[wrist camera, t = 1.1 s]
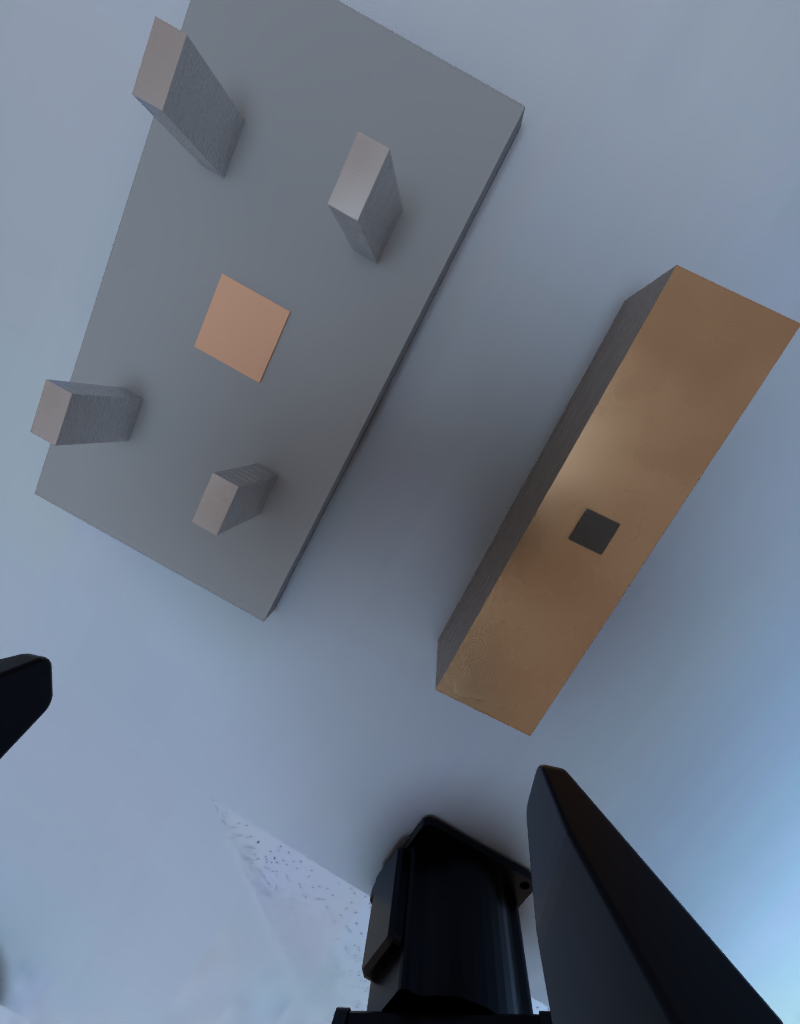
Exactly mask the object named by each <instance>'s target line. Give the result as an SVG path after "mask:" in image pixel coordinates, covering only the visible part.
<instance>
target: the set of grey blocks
mask: <svg viewBox="0 0 800 1024" xmlns="http://www.w3.org/2000/svg"><path fill="white" fill-rule="evenodd" d="M132 94H133V95H134V96H135V97H136V98H137V100H138V101H139V102H140V103H141V104H142V105H143V106H144V107H145V108H146V109H147V110H148V111H149V112H150V113H151V114H152V115H153V116H154V117H155V118H156V119H157V120H158V121H159V122H160V123H161V124H162V125H163V126H164V127H165V129H166V130H167V131H168V132H169V133H170V134H171V135H172V136H173V137H174V138H175V139H176V140H177V141H178V142H179V143H180V144H181V145H182V146H183V147H184V148H185V149H186V150H187V151H188V152H189V153H190V154H191V155H192V157H193V158H194V159H195V160H196V161H197V162H198V163H199V164H200V165H201V166H203V167H205V168H207V169H208V170H210V171H212V172H214V173H216V174H217V175H219V176H221V177H223V178H225V176H226V173H227V170H228V167H229V165H230V162H231V159H232V157H233V154H234V151H235V148H236V146H237V143H238V140H239V137H240V135H241V132H242V129H243V126H244V124H245V120H244V118H243V117H242V115H241V114H240V112H239V111H238V109H237V108H236V106H235V105H234V103H233V102H232V100H231V99H230V97H229V96H228V95H227V93H226V92H225V90H224V89H223V87H222V86H221V84H220V83H219V81H218V80H217V78H216V77H215V75H214V74H213V72H212V71H211V69H210V68H209V66H208V65H207V63H206V62H205V60H204V59H203V58H202V56H201V55H200V53H199V52H198V50H197V49H196V47H195V46H194V44H193V43H192V41H191V40H190V38H189V37H188V35H187V34H186V33H184V32H182V31H180V30H178V29H177V28H175V27H173V26H171V25H170V24H168V23H166V22H164V21H162V20H161V19H159V18H157V17H155V20H154V23H153V26H152V30H151V33H150V36H149V40H148V43H147V46H146V50H145V53H144V56H143V60H142V63H141V66H140V70H139V73H138V76H137V79H136V83H135V86H134V89H133V93H132ZM328 206H329V208H330V209H331V211H332V213H333V215H334V217H335V218H336V220H337V222H338V224H339V226H340V227H341V229H342V231H343V233H344V235H345V236H346V238H347V240H348V242H349V244H350V245H351V247H352V249H353V251H354V252H356V253H358V254H360V255H361V256H363V257H365V258H367V259H368V260H370V261H372V262H374V263H376V264H378V262H379V260H380V257H381V255H382V253H383V251H384V249H385V247H386V245H387V243H388V240H389V238H390V236H391V234H392V232H393V230H394V228H395V225H396V223H397V221H398V219H399V217H400V215H401V213H402V211H403V208H402V203H401V199H400V194H399V189H398V185H397V180H396V176H395V171H394V166H393V162H392V157H391V152H390V149H389V148H388V147H386V146H384V145H382V144H381V143H379V142H377V141H375V140H374V139H372V138H370V137H368V136H366V135H365V134H363V133H361V132H359V131H358V133H357V136H356V138H355V140H354V143H353V145H352V148H351V150H350V152H349V155H348V157H347V159H346V162H345V164H344V166H343V169H342V171H341V173H340V176H339V178H338V180H337V183H336V185H335V187H334V190H333V192H332V194H331V197H330V199H329V201H328ZM143 400H144V399H143V398H141V397H139V396H137V395H136V394H134V393H132V392H130V391H128V390H127V389H125V388H123V387H113V386H104V385H94V384H85V383H75V382H66V381H57V380H47V379H46V382H45V385H44V388H43V392H42V395H41V398H40V402H39V405H38V408H37V412H36V415H35V418H34V422H33V425H32V428H31V431H30V432H32V433H34V434H35V435H37V436H39V437H41V438H42V439H44V440H46V441H48V442H50V443H51V444H53V445H55V446H58V445H74V444H91V443H107V442H124V441H129V439H130V436H131V433H132V431H133V428H134V425H135V422H136V420H137V417H138V414H139V411H140V409H141V406H142V403H143ZM278 475H279V474H277V473H275V472H273V471H271V470H270V469H268V468H266V467H264V466H262V465H261V464H259V463H255V464H251V465H246V466H241V467H237V468H232V469H227V470H223V471H218V472H213V473H212V476H211V478H210V480H209V483H208V485H207V487H206V490H205V492H204V494H203V497H202V499H201V502H200V504H199V506H198V509H197V511H196V513H195V516H194V518H193V520H192V522H193V523H195V524H196V525H198V526H200V527H202V528H204V529H205V530H207V531H209V532H211V533H212V534H214V535H216V536H217V535H219V534H221V533H223V532H225V531H227V530H229V529H231V528H233V527H235V526H238V525H240V524H242V523H244V522H246V521H248V520H250V519H252V518H254V517H256V516H258V515H260V513H261V511H262V509H263V507H264V504H265V502H266V500H267V498H268V496H269V494H270V492H271V490H272V487H273V485H274V483H275V481H276V479H277V477H278Z"/></svg>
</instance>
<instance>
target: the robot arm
mask: <svg viewBox="0 0 800 1024" xmlns="http://www.w3.org/2000/svg"><path fill="white" fill-rule="evenodd" d="M52 696H53V691H52V665H51V662H50V660H49V659H47V658H46V657H42V656H37V655H33V654H20V655H16V656H12V657H8V658H4V659H0V759H1V758H2V757H3V756H4V754H5V753H6V752H7V751H8V750H9V749H10V748H11V747H12V746H13V745H14V744H15V743H16V742H17V741H18V740H19V739H20V737H21V736H22V735H23V734H24V733H25V732H26V731H27V730H28V729H29V728H30V727H31V726H32V725H33V724H34V723H35V722H36V720H37V719H38V718H39V717H40V716H41V715H42V714H43V713H44V712H45V711H46V710H47V708H48V707H49V705H50V703H51V700H52ZM527 827H528V839H529V851H530V862H531V873H530V872H529V871H528V870H526V869H524V868H522V867H520V866H519V865H517V864H515V863H513V862H511V861H510V860H508V859H506V858H504V857H502V856H501V855H499V854H497V853H495V852H493V851H492V850H490V849H488V848H486V847H485V846H483V845H481V844H479V843H477V842H476V841H474V840H472V839H470V838H468V837H467V836H465V835H463V834H461V833H459V832H458V831H456V830H454V829H452V828H450V827H449V826H447V825H445V824H443V823H441V822H440V821H438V820H436V819H434V818H429V817H427V818H424V819H423V820H422V821H421V822H420V824H419V825H418V827H417V828H416V829H415V831H414V832H413V833H412V835H411V836H410V838H409V839H408V840H407V842H406V843H405V844H404V846H401V847H399V848H398V849H397V850H396V851H395V852H394V854H393V855H392V857H391V858H390V859H389V861H388V862H387V864H386V865H385V866H384V868H383V869H382V871H381V872H380V873H379V875H378V876H377V878H376V883H375V886H374V887H373V889H372V891H371V897H370V902H371V904H372V908H371V914H370V920H369V927H368V933H367V939H366V946H365V952H364V958H363V964H362V971H363V975H364V978H366V979H368V980H370V981H371V984H370V991H369V998H368V1005H367V1011H351V1009H350V1008H345V1007H337V1008H336V1011H335V1014H334V1017H333V1020H332V1024H783V1022H782V1021H781V1019H780V1018H779V1017H778V1016H777V1015H776V1014H775V1012H774V1011H773V1010H772V1009H771V1008H770V1007H769V1005H768V1004H767V1003H766V1002H765V1001H764V1000H763V999H762V997H761V996H760V995H759V994H758V993H757V992H756V990H755V989H754V988H753V987H752V986H751V985H750V983H749V982H748V981H747V980H746V979H745V978H744V976H743V975H742V974H741V973H740V972H739V971H738V970H737V968H736V967H735V966H734V965H733V964H732V963H731V961H730V960H729V959H728V958H727V957H726V956H725V954H724V953H723V952H722V951H721V950H720V949H719V948H718V946H717V945H716V944H715V943H714V942H713V941H712V939H711V938H710V937H709V936H708V935H707V934H706V932H705V931H704V930H703V929H702V928H701V927H700V925H699V924H698V923H697V922H696V921H695V920H694V919H693V917H692V916H691V915H690V914H689V913H688V912H687V910H686V909H685V908H684V907H683V906H682V905H681V903H680V902H679V901H678V900H677V899H676V898H675V897H674V895H673V894H672V893H671V892H670V891H669V890H668V888H667V887H666V886H665V885H664V884H663V883H662V881H661V880H660V879H659V878H658V877H657V876H656V874H655V873H654V872H653V871H652V870H651V869H650V868H649V866H648V865H647V864H646V863H645V862H644V861H643V859H642V858H641V857H640V856H639V855H638V854H637V852H636V851H635V850H634V849H633V848H632V847H631V846H630V844H629V843H628V842H627V841H626V840H625V839H624V837H623V836H622V835H621V834H620V833H619V832H618V830H617V829H616V828H615V827H614V826H613V825H612V823H611V822H610V821H609V820H608V819H607V818H606V817H605V815H604V814H603V813H602V812H601V811H600V810H599V808H598V807H597V806H596V805H595V804H594V803H593V801H592V800H591V799H590V798H589V797H588V796H587V795H586V793H585V792H584V791H583V790H582V789H581V788H580V786H579V785H578V784H577V783H576V782H575V781H574V779H573V778H572V777H571V776H570V775H569V774H568V773H567V772H566V771H565V770H564V769H562V768H558V767H553V766H548V765H540V766H539V767H538V769H537V771H536V774H535V778H534V781H533V785H532V789H531V793H530V796H529V800H528V805H527ZM430 829H431V830H430ZM532 891H533V897H534V909H535V919H536V929H537V936H538V943H539V949H540V955H541V961H542V967H543V972H544V978H545V984H546V989H547V995H548V1001H549V1006H550V1011H539V1014H533V1009H532V1002H531V995H530V988H529V981H528V974H527V967H526V960H525V953H524V946H523V939H522V932H521V925H520V918H519V911H518V907H519V906H520V905H521V904H522V903H523V902H524V901H525V899H526V898H527V897H528V896H529V895H530V894H531V892H532Z"/></svg>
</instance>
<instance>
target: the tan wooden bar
mask: <svg viewBox="0 0 800 1024" xmlns="http://www.w3.org/2000/svg"><path fill="white" fill-rule="evenodd" d="M799 327H800V323H798V322H796V321H794V320H792V319H790V318H788V317H785V316H783V315H781V314H779V313H777V312H775V311H773V310H771V309H769V308H766V307H764V306H762V305H760V304H758V303H756V302H754V301H752V300H749V299H747V298H745V297H743V296H741V295H739V294H737V293H735V292H733V291H730V290H728V289H726V288H724V287H722V286H720V285H718V284H716V283H714V282H711V281H709V280H707V279H705V278H703V277H701V276H699V275H697V274H695V273H692V272H690V271H688V270H686V269H684V268H682V267H680V266H678V265H676V266H675V267H673V268H672V269H670V270H669V271H667V272H666V273H665V274H663V275H662V276H660V277H659V278H657V279H656V280H654V281H653V282H652V283H650V284H649V285H647V286H646V287H644V288H643V289H641V290H640V291H638V292H637V293H636V294H634V295H633V296H631V297H630V298H628V299H627V300H625V302H624V304H623V306H622V307H621V309H620V311H619V313H618V315H617V316H616V318H615V320H614V322H613V324H612V326H611V327H610V329H609V331H608V333H607V335H606V336H605V338H604V340H603V342H602V344H601V346H600V347H599V349H598V351H597V353H596V355H595V356H594V358H593V360H592V362H591V364H590V366H589V367H588V369H587V371H586V373H585V375H584V376H583V378H582V380H581V382H580V384H579V385H578V387H577V389H576V391H575V393H574V395H573V396H572V398H571V400H570V402H569V404H568V405H567V407H566V409H565V411H564V413H563V415H562V416H561V418H560V420H559V422H558V424H557V425H556V427H555V429H554V431H553V433H552V435H551V436H550V438H549V440H548V442H547V444H546V445H545V447H544V449H543V451H542V453H541V454H540V456H539V458H538V460H537V462H536V464H535V465H534V467H533V469H532V471H531V473H530V474H529V476H528V478H527V480H526V482H525V484H524V485H523V487H522V489H521V491H520V493H519V494H518V496H517V498H516V500H515V502H514V504H513V505H512V507H511V509H510V511H509V513H508V514H507V516H506V518H505V520H504V522H503V523H502V525H501V527H500V529H499V531H498V533H497V534H496V536H495V538H494V540H493V542H492V543H491V545H490V547H489V549H488V551H487V553H486V554H485V556H484V558H483V560H482V562H481V563H480V565H479V567H478V569H477V571H476V573H475V574H474V576H473V578H472V580H471V582H470V583H469V585H468V587H467V589H466V591H465V592H464V594H463V596H462V598H461V600H460V602H459V603H458V605H457V607H456V609H455V611H454V612H453V614H452V616H451V618H450V620H449V622H448V623H447V625H446V627H445V629H444V631H443V632H442V634H441V636H440V638H439V640H438V650H437V670H436V690H437V691H439V692H441V693H443V694H445V695H447V696H449V697H451V698H453V699H455V700H458V701H460V702H462V703H464V704H466V705H468V706H470V707H472V708H474V709H476V710H478V711H480V712H482V713H484V714H486V715H488V716H490V717H492V718H494V719H496V720H498V721H500V722H502V723H505V724H507V725H509V726H511V727H513V728H515V729H517V730H519V731H521V732H523V733H525V734H527V735H529V736H530V735H531V734H532V732H533V731H534V729H535V728H536V726H537V725H538V723H539V722H540V720H541V719H542V717H543V716H544V714H545V713H546V711H547V710H548V708H549V707H550V705H551V704H552V702H553V700H554V699H555V697H556V696H557V694H558V693H559V691H560V690H561V688H562V687H563V685H564V684H565V682H566V681H567V679H568V678H569V676H570V675H571V673H572V672H573V670H574V669H575V667H576V666H577V664H578V663H579V661H580V659H581V658H582V656H583V655H584V653H585V652H586V650H587V649H588V647H589V646H590V644H591V643H592V641H593V640H594V638H595V637H596V635H597V634H598V632H599V631H600V629H601V628H602V626H603V625H604V623H605V621H606V620H607V618H608V617H609V615H610V614H611V612H612V611H613V609H614V608H615V606H616V605H617V603H618V602H619V600H620V599H621V597H622V596H623V594H624V593H625V591H626V590H627V588H628V587H629V585H630V583H631V582H632V580H633V579H634V577H635V576H636V574H637V573H638V571H639V570H640V568H641V567H642V565H643V564H644V562H645V561H646V559H647V558H648V556H649V555H650V553H651V552H652V550H653V549H654V547H655V546H656V544H657V542H658V541H659V539H660V538H661V536H662V535H663V533H664V532H665V530H666V529H667V527H668V526H669V524H670V523H671V521H672V520H673V518H674V517H675V515H676V514H677V512H678V511H679V509H680V508H681V506H682V504H683V503H684V501H685V500H686V498H687V497H688V495H689V494H690V492H691V491H692V489H693V488H694V486H695V485H696V483H697V482H698V480H699V479H700V477H701V476H702V474H703V473H704V471H705V470H706V468H707V466H708V465H709V463H710V462H711V460H712V459H713V457H714V456H715V454H716V453H717V451H718V450H719V448H720V447H721V445H722V444H723V442H724V441H725V439H726V438H727V436H728V435H729V433H730V432H731V430H732V429H733V427H734V425H735V424H736V422H737V421H738V419H739V418H740V416H741V415H742V413H743V412H744V410H745V409H746V407H747V406H748V404H749V403H750V401H751V400H752V398H753V397H754V395H755V394H756V392H757V391H758V389H759V387H760V386H761V384H762V383H763V381H764V380H765V378H766V377H767V375H768V374H769V372H770V371H771V369H772V368H773V366H774V365H775V363H776V362H777V360H778V359H779V357H780V356H781V354H782V353H783V351H784V349H785V348H786V346H787V345H788V343H789V342H790V340H791V339H792V337H793V336H794V334H795V333H796V331H797V330H798V328H799Z"/></svg>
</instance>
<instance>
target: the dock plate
mask: <svg viewBox="0 0 800 1024" xmlns="http://www.w3.org/2000/svg"><path fill="white" fill-rule="evenodd" d="M181 31H182V32H184V33H186V34H187V35H188V37H189V38H190V40H191V41H192V43H193V44H194V46H195V47H196V49H197V50H198V52H199V53H200V55H201V56H202V58H203V59H204V60H205V62H206V63H207V65H208V66H209V68H210V69H211V71H212V72H213V74H214V75H215V77H216V78H217V80H218V81H219V83H220V84H221V86H222V87H223V89H224V90H225V92H226V93H227V95H228V96H229V97H230V99H231V100H232V102H233V103H234V105H235V106H236V108H237V109H238V111H239V112H240V114H241V115H242V117H243V118H244V120H245V124H244V126H243V129H242V132H241V135H240V137H239V140H238V143H237V146H236V148H235V151H234V154H233V157H232V159H231V162H230V165H229V167H228V170H227V173H226V176H225V178H223V177H221V176H219V175H217V174H216V173H214V172H212V171H210V170H208V169H207V168H205V167H203V166H201V165H200V164H199V163H198V162H197V161H196V160H195V159H194V158H193V157H192V155H191V154H190V153H189V152H188V151H187V150H186V149H185V148H184V147H183V146H182V145H181V144H180V143H179V142H178V141H177V140H176V139H175V138H174V137H173V136H172V135H171V134H170V133H169V132H168V131H167V130H166V129H165V127H164V126H163V125H162V124H161V123H160V122H159V121H158V120H157V119H156V118H155V117H154V118H153V121H152V124H151V127H150V130H149V134H148V137H147V140H146V143H145V146H144V149H143V153H142V156H141V159H140V162H139V165H138V168H137V172H136V175H135V178H134V181H133V184H132V187H131V191H130V194H129V197H128V200H127V203H126V206H125V210H124V213H123V216H122V219H121V222H120V225H119V229H118V232H117V235H116V238H115V241H114V244H113V248H112V251H111V254H110V257H109V260H108V263H107V267H106V270H105V273H104V276H103V279H102V282H101V285H100V289H99V292H98V295H97V298H96V301H95V304H94V308H93V311H92V314H91V317H90V320H89V323H88V327H87V330H86V333H85V336H84V339H83V342H82V346H81V349H80V352H79V355H78V358H77V361H76V365H75V368H74V371H73V374H72V377H71V380H70V382H75V383H85V384H94V385H104V386H113V387H123V388H125V389H127V390H128V391H130V392H132V393H134V394H136V395H137V396H139V397H141V398H143V399H144V400H143V403H142V406H141V409H140V411H139V414H138V417H137V420H136V422H135V425H134V428H133V431H132V433H131V436H130V439H129V441H124V442H107V443H91V444H74V445H58V446H55V445H53V444H50V447H49V450H48V453H47V456H46V459H45V463H44V466H43V469H42V472H41V475H40V478H39V482H38V485H37V488H36V491H35V494H36V495H38V496H40V497H42V498H43V499H45V500H47V501H49V502H51V503H52V504H54V505H56V506H58V507H59V508H61V509H63V510H65V511H67V512H68V513H70V514H72V515H74V516H76V517H77V518H79V519H81V520H83V521H85V522H86V523H88V524H90V525H92V526H94V527H95V528H97V529H99V530H101V531H102V532H104V533H106V534H108V535H110V536H111V537H113V538H115V539H117V540H119V541H120V542H122V543H124V544H126V545H128V546H129V547H131V548H133V549H135V550H137V551H138V552H140V553H142V554H144V555H145V556H147V557H149V558H151V559H153V560H154V561H156V562H158V563H160V564H162V565H163V566H165V567H167V568H169V569H171V570H172V571H174V572H176V573H178V574H179V575H181V576H183V577H185V578H187V579H188V580H190V581H192V582H194V583H196V584H197V585H199V586H201V587H203V588H205V589H206V590H208V591H210V592H212V593H214V594H215V595H217V596H219V597H221V598H222V599H224V600H226V601H228V602H230V603H231V604H233V605H235V606H237V607H239V608H240V609H242V610H244V611H246V612H248V613H249V614H251V615H253V616H255V617H257V618H258V619H260V620H262V621H265V619H266V618H267V617H268V616H269V615H270V614H271V613H272V612H273V610H274V608H275V606H276V604H277V602H278V600H279V598H280V596H281V594H282V592H283V590H284V588H285V586H286V585H287V583H288V581H289V579H290V577H291V575H292V573H293V571H294V569H295V567H296V565H297V563H298V561H299V559H300V557H301V555H302V553H303V551H304V549H305V547H306V545H307V543H308V541H309V540H310V538H311V536H312V534H313V532H314V530H315V528H316V526H317V524H318V522H319V520H320V518H321V516H322V514H323V512H324V510H325V508H326V506H327V504H328V502H329V500H330V498H331V496H332V494H333V493H334V491H335V489H336V487H337V485H338V483H339V481H340V479H341V477H342V475H343V473H344V471H345V469H346V467H347V465H348V463H349V461H350V459H351V457H352V455H353V453H354V451H355V449H356V448H357V446H358V444H359V442H360V440H361V438H362V436H363V434H364V432H365V430H366V428H367V426H368V424H369V422H370V420H371V418H372V416H373V414H374V412H375V410H376V408H377V406H378V404H379V402H380V401H381V399H382V397H383V395H384V393H385V391H386V389H387V387H388V385H389V383H390V381H391V379H392V377H393V375H394V373H395V371H396V369H397V367H398V365H399V363H400V361H401V359H402V357H403V356H404V354H405V352H406V350H407V348H408V346H409V344H410V342H411V340H412V338H413V336H414V334H415V332H416V330H417V328H418V326H419V324H420V322H421V320H422V318H423V316H424V314H425V312H426V310H427V309H428V307H429V305H430V303H431V301H432V299H433V297H434V295H435V293H436V291H437V289H438V287H439V285H440V283H441V281H442V279H443V277H444V275H445V273H446V271H447V269H448V267H449V265H450V263H451V262H452V260H453V258H454V256H455V254H456V252H457V250H458V248H459V246H460V244H461V242H462V240H463V238H464V236H465V234H466V232H467V230H468V228H469V226H470V224H471V222H472V220H473V218H474V217H475V215H476V213H477V211H478V209H479V207H480V205H481V203H482V201H483V199H484V197H485V195H486V193H487V191H488V189H489V187H490V185H491V183H492V181H493V179H494V177H495V175H496V173H497V171H498V170H499V168H500V166H501V164H502V162H503V160H504V158H505V156H506V154H507V152H508V150H509V148H510V146H511V144H512V142H513V140H514V138H515V136H516V134H517V132H518V130H519V128H520V126H521V122H522V118H523V114H524V110H525V106H524V105H522V104H520V103H518V102H517V101H515V100H513V99H511V98H509V97H508V96H506V95H504V94H502V93H501V92H499V91H497V90H495V89H494V88H492V87H490V86H488V85H486V84H485V83H483V82H481V81H479V80H478V79H476V78H474V77H472V76H471V75H469V74H467V73H465V72H463V71H462V70H460V69H458V68H456V67H455V66H453V65H451V64H449V63H448V62H446V61H444V60H442V59H440V58H439V57H437V56H435V55H433V54H432V53H430V52H428V51H426V50H425V49H423V48H421V47H419V46H417V45H416V44H414V43H412V42H410V41H409V40H407V39H405V38H403V37H401V36H400V35H398V34H396V33H394V32H393V31H391V30H389V29H387V28H386V27H384V26H382V25H380V24H378V23H377V22H375V21H373V20H371V19H370V18H368V17H366V16H364V15H363V14H361V13H359V12H357V11H355V10H354V9H352V8H350V7H348V6H347V5H345V4H343V3H341V2H340V1H338V0H191V1H190V4H189V7H188V10H187V13H186V17H185V20H184V23H183V26H182V29H181ZM358 131H359V132H361V133H363V134H365V135H366V136H368V137H370V138H372V139H374V140H375V141H377V142H379V143H381V144H382V145H384V146H386V147H388V148H389V149H390V152H391V157H392V162H393V166H394V171H395V176H396V180H397V185H398V189H399V194H400V199H401V203H402V208H403V211H402V213H401V215H400V217H399V219H398V221H397V223H396V225H395V228H394V230H393V232H392V234H391V236H390V238H389V240H388V243H387V245H386V247H385V249H384V251H383V253H382V255H381V257H380V260H379V262H378V264H376V263H374V262H372V261H370V260H368V259H367V258H365V257H363V256H361V255H360V254H358V253H356V252H354V251H353V249H352V247H351V245H350V244H349V242H348V240H347V238H346V236H345V235H344V233H343V231H342V229H341V227H340V226H339V224H338V222H337V220H336V218H335V217H334V215H333V213H332V211H331V209H330V208H329V206H328V201H329V199H330V197H331V194H332V192H333V190H334V187H335V185H336V183H337V180H338V178H339V176H340V173H341V171H342V169H343V166H344V164H345V162H346V159H347V157H348V155H349V152H350V150H351V148H352V145H353V143H354V140H355V138H356V136H357V133H358ZM255 463H259V464H261V465H262V466H264V467H266V468H268V469H270V470H271V471H273V472H275V473H277V474H279V475H278V477H277V479H276V481H275V483H274V485H273V487H272V490H271V492H270V494H269V496H268V498H267V500H266V502H265V504H264V507H263V509H262V511H261V513H260V515H258V516H256V517H254V518H252V519H250V520H248V521H246V522H244V523H242V524H240V525H238V526H235V527H233V528H231V529H229V530H227V531H225V532H223V533H221V534H219V535H217V536H216V535H214V534H212V533H211V532H209V531H207V530H205V529H204V528H202V527H200V526H198V525H196V524H195V523H193V522H192V520H193V518H194V516H195V513H196V511H197V509H198V506H199V504H200V502H201V499H202V497H203V494H204V492H205V490H206V487H207V485H208V483H209V480H210V478H211V476H212V473H213V472H218V471H223V470H227V469H232V468H237V467H241V466H246V465H251V464H255Z"/></svg>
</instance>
